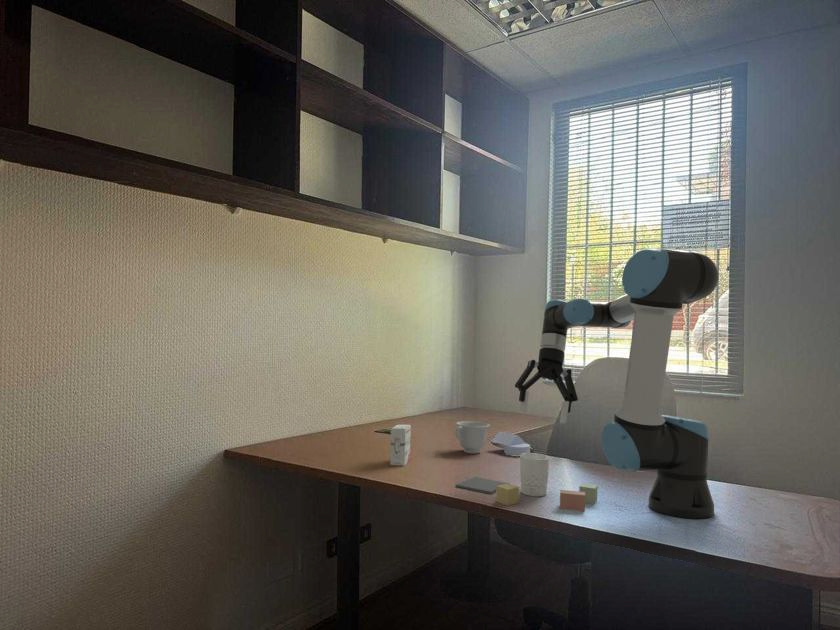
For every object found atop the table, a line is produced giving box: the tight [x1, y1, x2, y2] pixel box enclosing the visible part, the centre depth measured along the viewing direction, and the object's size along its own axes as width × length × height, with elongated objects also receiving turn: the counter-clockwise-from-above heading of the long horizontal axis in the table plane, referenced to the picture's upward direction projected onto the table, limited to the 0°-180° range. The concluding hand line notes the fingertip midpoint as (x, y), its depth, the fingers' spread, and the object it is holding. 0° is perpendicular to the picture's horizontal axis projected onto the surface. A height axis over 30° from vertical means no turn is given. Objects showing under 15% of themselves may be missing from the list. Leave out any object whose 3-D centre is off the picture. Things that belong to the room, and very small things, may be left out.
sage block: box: [578, 482, 599, 505], centre depth 155 cm, size 4×4×4 cm
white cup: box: [519, 452, 550, 497], centre depth 160 cm, size 8×8×10 cm
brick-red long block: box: [559, 489, 586, 512], centre depth 148 cm, size 6×3×4 cm, turn 75°
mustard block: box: [495, 483, 520, 506], centre depth 152 cm, size 4×4×4 cm
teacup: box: [454, 420, 491, 454], centre depth 210 cm, size 12×15×10 cm
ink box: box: [389, 424, 412, 467], centre depth 191 cm, size 9×5×12 cm, turn 168°
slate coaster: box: [455, 476, 510, 495], centre depth 166 cm, size 11×11×1 cm
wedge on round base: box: [491, 430, 531, 456], centre depth 211 cm, size 9×7×13 cm
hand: (543, 418), depth 177 cm, fingers open, 13 cm apart
